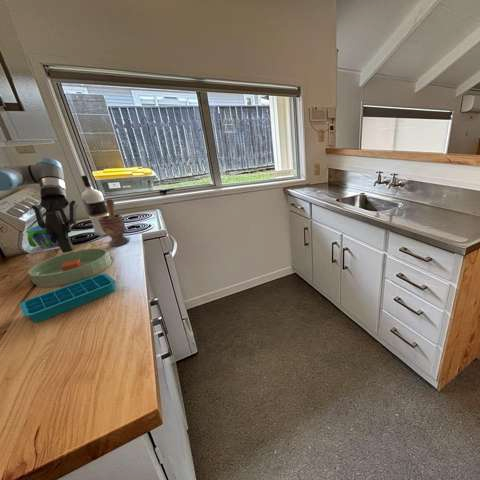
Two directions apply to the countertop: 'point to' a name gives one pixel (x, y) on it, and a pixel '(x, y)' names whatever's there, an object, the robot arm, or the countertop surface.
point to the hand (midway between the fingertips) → (60, 240)
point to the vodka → (94, 205)
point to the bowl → (53, 275)
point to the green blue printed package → (39, 238)
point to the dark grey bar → (59, 231)
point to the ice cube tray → (67, 297)
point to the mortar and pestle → (113, 225)
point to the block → (71, 265)
